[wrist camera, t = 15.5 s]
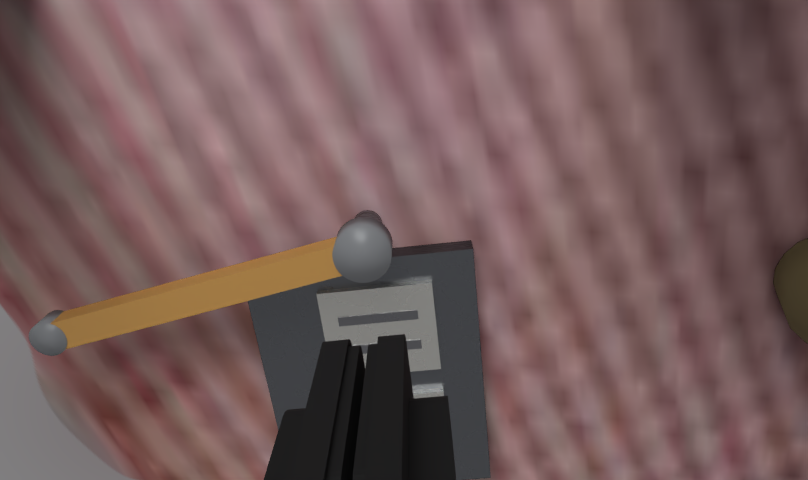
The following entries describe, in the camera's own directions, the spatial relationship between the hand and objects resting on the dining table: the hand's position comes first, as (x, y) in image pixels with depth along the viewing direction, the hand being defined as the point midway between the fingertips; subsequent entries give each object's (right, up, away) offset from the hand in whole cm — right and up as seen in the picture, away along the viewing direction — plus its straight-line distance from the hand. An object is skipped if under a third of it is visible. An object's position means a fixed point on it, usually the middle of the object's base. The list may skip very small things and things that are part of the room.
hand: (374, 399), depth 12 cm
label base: (-2, -5, +34) cm, 34 cm away
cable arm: (-12, 0, +28) cm, 30 cm away
